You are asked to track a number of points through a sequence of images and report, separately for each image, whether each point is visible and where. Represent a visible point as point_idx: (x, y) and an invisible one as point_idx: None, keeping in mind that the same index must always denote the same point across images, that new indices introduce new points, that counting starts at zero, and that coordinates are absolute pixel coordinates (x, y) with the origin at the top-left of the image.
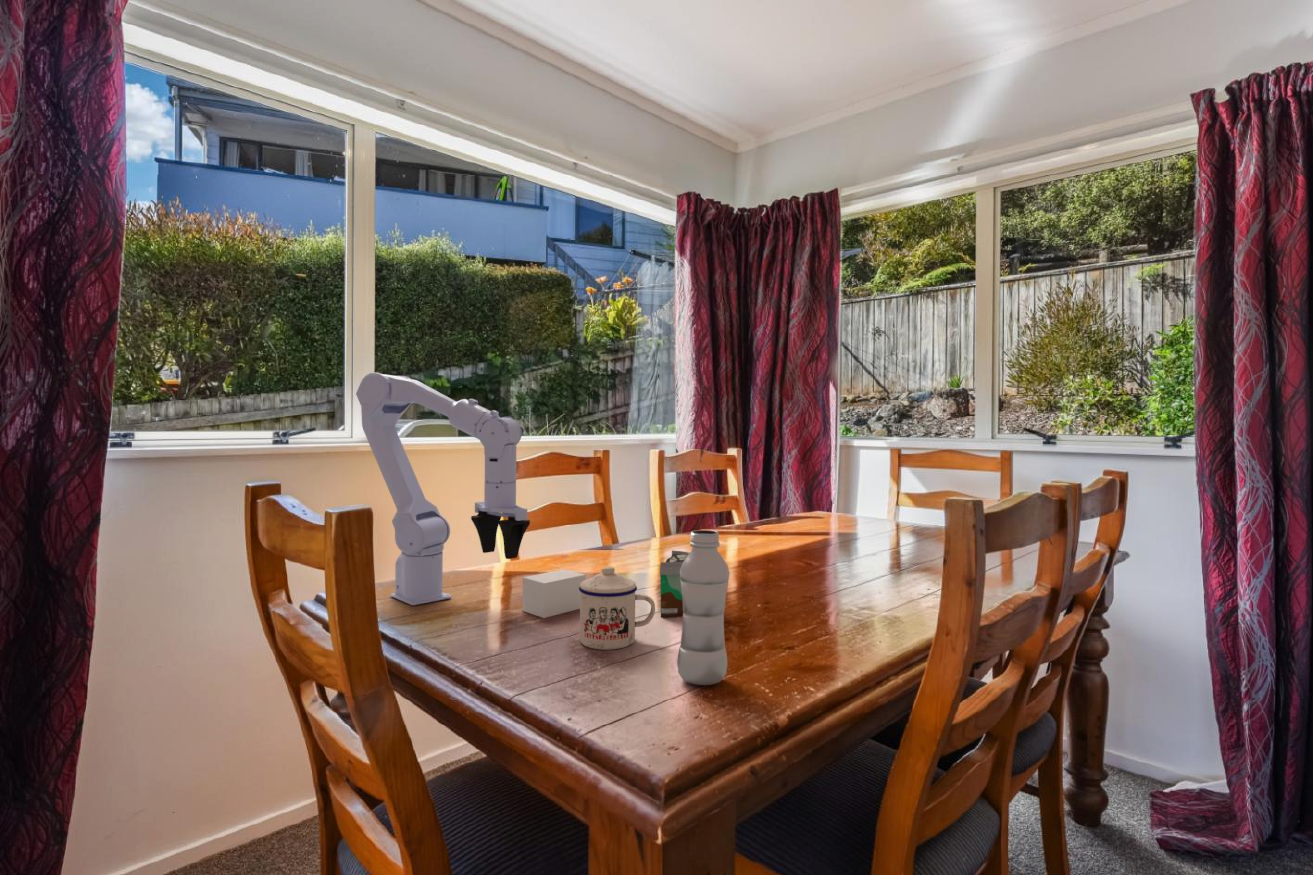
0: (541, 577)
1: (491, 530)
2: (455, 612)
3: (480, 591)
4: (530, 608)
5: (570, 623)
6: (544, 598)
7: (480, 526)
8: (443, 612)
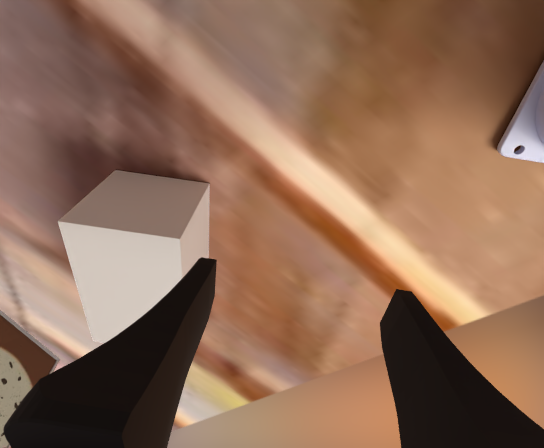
0: (138, 267)
1: (414, 418)
2: (363, 45)
3: (460, 250)
4: (169, 185)
5: (37, 176)
6: (87, 197)
7: (459, 412)
8: (403, 14)
